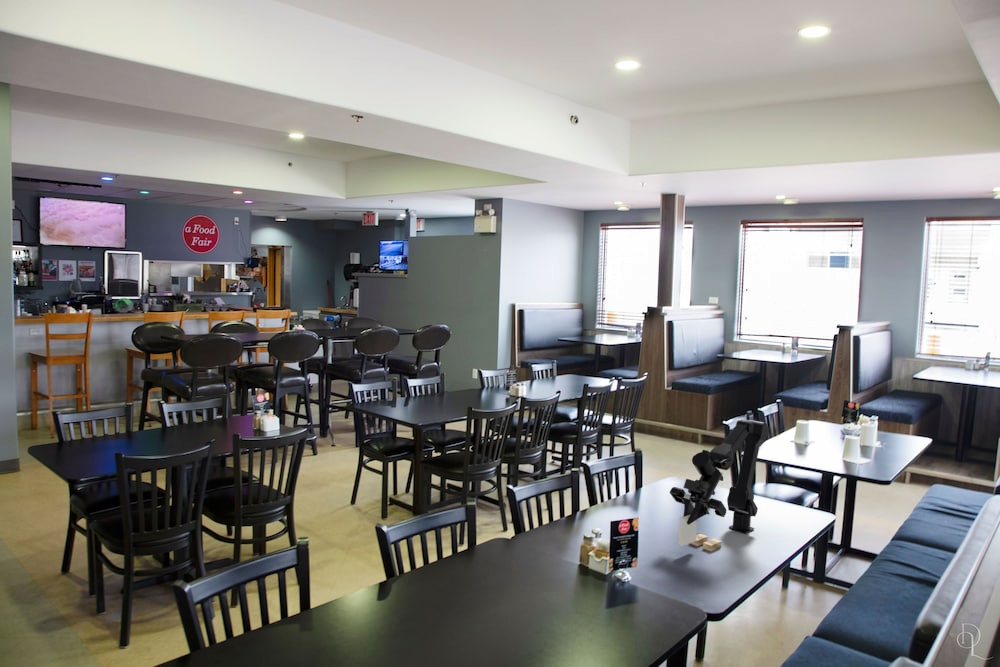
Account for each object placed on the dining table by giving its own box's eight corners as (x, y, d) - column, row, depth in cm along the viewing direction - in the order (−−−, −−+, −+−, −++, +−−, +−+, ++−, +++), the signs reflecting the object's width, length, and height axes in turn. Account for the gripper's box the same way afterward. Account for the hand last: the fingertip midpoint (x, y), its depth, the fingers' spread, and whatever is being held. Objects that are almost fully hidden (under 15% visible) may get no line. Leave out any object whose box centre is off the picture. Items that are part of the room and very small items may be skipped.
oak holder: (699, 539, 235) (700, 533, 234) (721, 547, 228) (721, 541, 228) (689, 543, 231) (689, 537, 231) (710, 551, 225) (711, 545, 224)
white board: (692, 539, 226) (694, 513, 225) (695, 540, 225) (697, 514, 224) (678, 545, 220) (679, 517, 220) (681, 546, 220) (682, 519, 219)
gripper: (674, 463, 230) (652, 501, 224) (723, 476, 216) (701, 518, 210) (687, 481, 236) (665, 519, 230) (735, 496, 222) (714, 537, 216)
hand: (685, 523), depth 221 cm, fingers closed on white board, 1 cm apart
